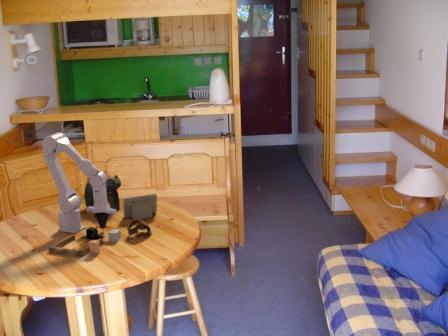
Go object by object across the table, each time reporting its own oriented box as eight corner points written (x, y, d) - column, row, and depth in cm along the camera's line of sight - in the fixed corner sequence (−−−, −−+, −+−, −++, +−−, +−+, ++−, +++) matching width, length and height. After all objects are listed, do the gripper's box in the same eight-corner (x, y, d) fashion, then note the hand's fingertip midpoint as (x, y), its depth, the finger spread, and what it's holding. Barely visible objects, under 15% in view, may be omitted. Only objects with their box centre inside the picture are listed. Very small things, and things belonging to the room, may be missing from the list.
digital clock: (157, 211, 271) (156, 191, 268) (158, 218, 262) (157, 196, 260) (124, 214, 269) (122, 193, 266) (123, 221, 260) (121, 199, 258)
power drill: (124, 209, 277) (120, 170, 272) (117, 213, 271) (113, 173, 266) (90, 205, 284) (86, 167, 279) (82, 209, 278) (78, 171, 273)
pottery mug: (152, 239, 238) (141, 226, 235) (133, 248, 241) (122, 234, 237) (155, 223, 248) (145, 209, 245) (138, 231, 251) (127, 218, 247)
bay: (49, 251, 228) (48, 247, 227) (72, 238, 241) (72, 234, 240) (81, 257, 221) (80, 252, 221) (103, 243, 235) (102, 238, 234)
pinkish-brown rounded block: (87, 254, 224) (86, 243, 222) (93, 250, 227) (92, 239, 226) (96, 256, 222) (94, 244, 221) (102, 252, 226) (100, 240, 224)
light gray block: (109, 241, 237) (108, 232, 235) (112, 238, 240) (111, 229, 239) (118, 241, 236) (117, 232, 235) (121, 238, 240) (120, 229, 239)
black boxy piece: (76, 239, 242) (75, 229, 241) (87, 233, 248) (86, 223, 247) (98, 243, 236) (97, 233, 235) (109, 237, 242) (108, 227, 241)
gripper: (81, 200, 243) (84, 229, 247) (109, 203, 238) (111, 233, 241) (90, 195, 250) (93, 223, 253) (118, 198, 244) (120, 227, 247)
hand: (103, 228), depth 248 cm, fingers closed
